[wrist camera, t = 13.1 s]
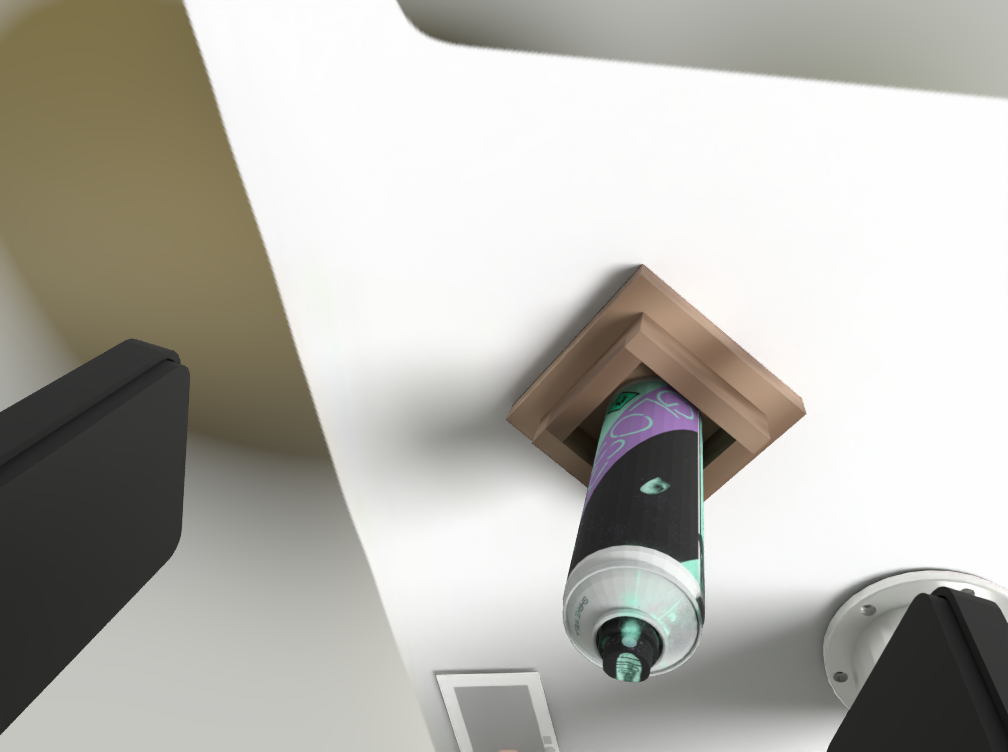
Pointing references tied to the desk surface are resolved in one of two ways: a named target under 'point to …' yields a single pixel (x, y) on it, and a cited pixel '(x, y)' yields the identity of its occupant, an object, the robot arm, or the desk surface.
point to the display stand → (670, 355)
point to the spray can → (641, 537)
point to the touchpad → (498, 712)
